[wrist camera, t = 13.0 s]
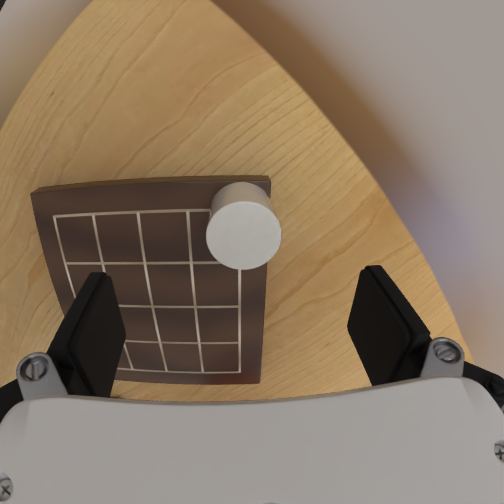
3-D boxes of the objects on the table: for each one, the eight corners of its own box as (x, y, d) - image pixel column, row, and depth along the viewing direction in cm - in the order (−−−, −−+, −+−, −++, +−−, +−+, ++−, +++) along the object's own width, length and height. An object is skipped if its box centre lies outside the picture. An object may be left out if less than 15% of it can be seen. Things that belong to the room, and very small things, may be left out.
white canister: (209, 181, 20) (204, 201, 16) (274, 181, 20) (284, 201, 17) (210, 240, 22) (207, 270, 18) (271, 240, 22) (279, 269, 19)
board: (39, 187, 20) (29, 193, 19) (268, 175, 21) (271, 181, 20) (93, 367, 30) (90, 377, 28) (258, 372, 31) (260, 384, 29)
